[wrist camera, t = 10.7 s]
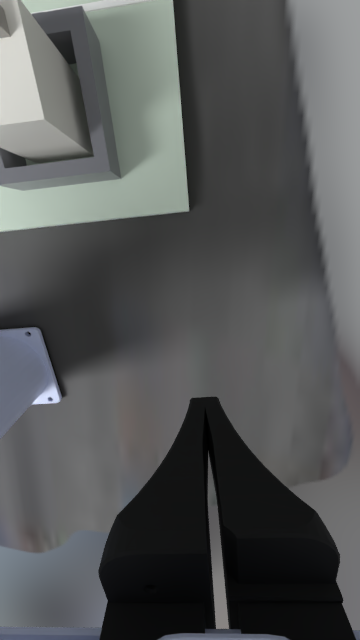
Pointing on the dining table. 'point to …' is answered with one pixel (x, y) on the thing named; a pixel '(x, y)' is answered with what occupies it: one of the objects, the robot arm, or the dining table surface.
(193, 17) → the dining table surface
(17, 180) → the board
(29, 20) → the plug
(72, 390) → the dining table surface
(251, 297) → the dining table surface
